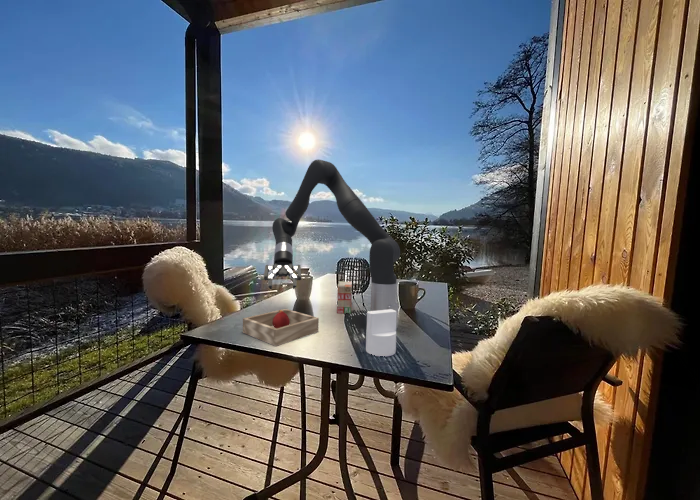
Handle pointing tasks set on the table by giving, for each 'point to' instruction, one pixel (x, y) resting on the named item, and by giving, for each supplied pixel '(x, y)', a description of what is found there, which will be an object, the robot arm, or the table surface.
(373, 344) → the cylinder with rectangular tab
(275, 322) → the onion
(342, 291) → the cardboard carton
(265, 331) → the wooden box
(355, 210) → the robot arm
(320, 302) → the table surface
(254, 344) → the table surface
